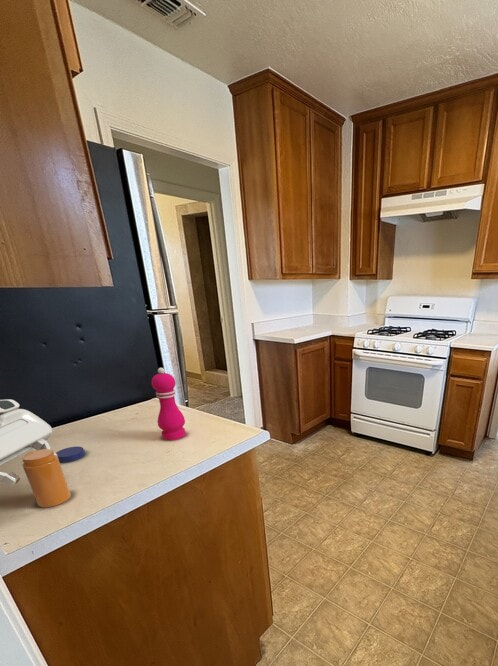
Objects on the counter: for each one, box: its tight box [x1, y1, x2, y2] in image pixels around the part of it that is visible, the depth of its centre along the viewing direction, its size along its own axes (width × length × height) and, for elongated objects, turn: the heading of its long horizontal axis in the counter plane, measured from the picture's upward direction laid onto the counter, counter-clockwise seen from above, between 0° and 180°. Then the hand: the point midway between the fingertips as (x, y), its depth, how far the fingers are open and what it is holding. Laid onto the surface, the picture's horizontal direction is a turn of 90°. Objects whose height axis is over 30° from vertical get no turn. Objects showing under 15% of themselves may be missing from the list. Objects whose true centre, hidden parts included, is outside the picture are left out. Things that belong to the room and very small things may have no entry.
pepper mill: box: [151, 367, 186, 441], centre depth 98 cm, size 7×7×20 cm
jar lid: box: [55, 445, 86, 464], centre depth 90 cm, size 6×6×2 cm
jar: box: [21, 448, 72, 508], centre depth 70 cm, size 6×6×10 cm
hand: (36, 470), depth 70 cm, fingers open, 8 cm apart
